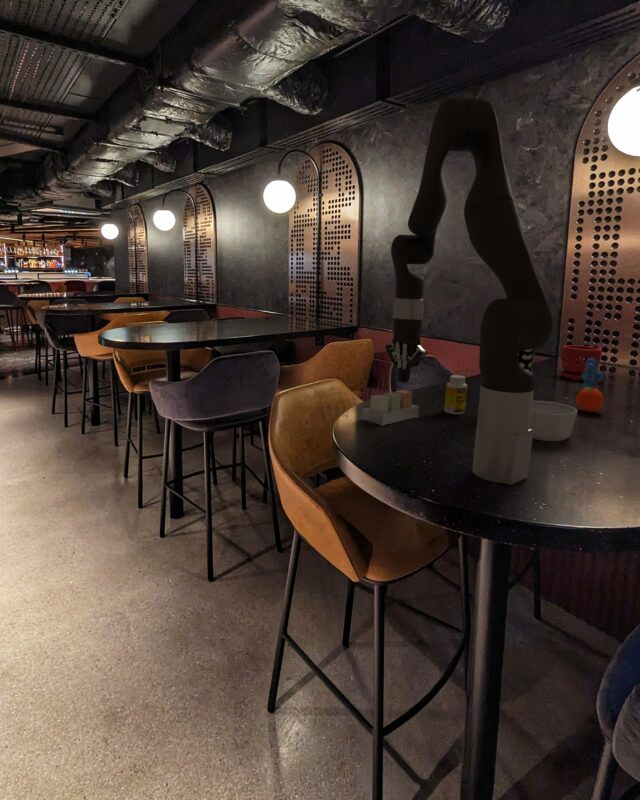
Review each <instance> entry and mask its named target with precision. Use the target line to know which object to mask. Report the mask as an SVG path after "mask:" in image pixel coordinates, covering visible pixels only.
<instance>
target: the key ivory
mask: <svg viewBox="0 0 640 800" xmlns="http://www.w3.org/2000/svg"><path fill="white" fill-rule="evenodd" d="M388 400H389V397H387V396H383V394H376V395H371V396H370V406H369V407H370V410H371V411H374V412H377V413H382V412H386V411H388Z"/></svg>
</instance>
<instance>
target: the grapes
mask: <svg viewBox="0 0 640 800" xmlns="http://www.w3.org/2000/svg"><path fill="white" fill-rule="evenodd" d="M596 365H597V362H596V360H595V359H594V357H593V358H590V359H588V360H587V361H586V366H585V368H586V369H585V372H584V373H582V374H581V376H582V377H583V379H584V380H583V383H582V385H581V388H582V389H581V390H583V389H585V388H584V387H589V388H591V387H592V388H594V386H595V385H594V384H596V382H600V381H602V380H603V379H604V378H605V376H604V374H603V373H602V372H601V371H598V368H597V369H596Z"/></svg>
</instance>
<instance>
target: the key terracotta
mask: <svg viewBox="0 0 640 800" xmlns="http://www.w3.org/2000/svg"><path fill="white" fill-rule="evenodd" d="M394 393H397V394H401V398H400V407H408V406H411V404H412V402H413V401H412V400H413V391H409V390H405V389H401V390H396V391H394Z"/></svg>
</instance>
